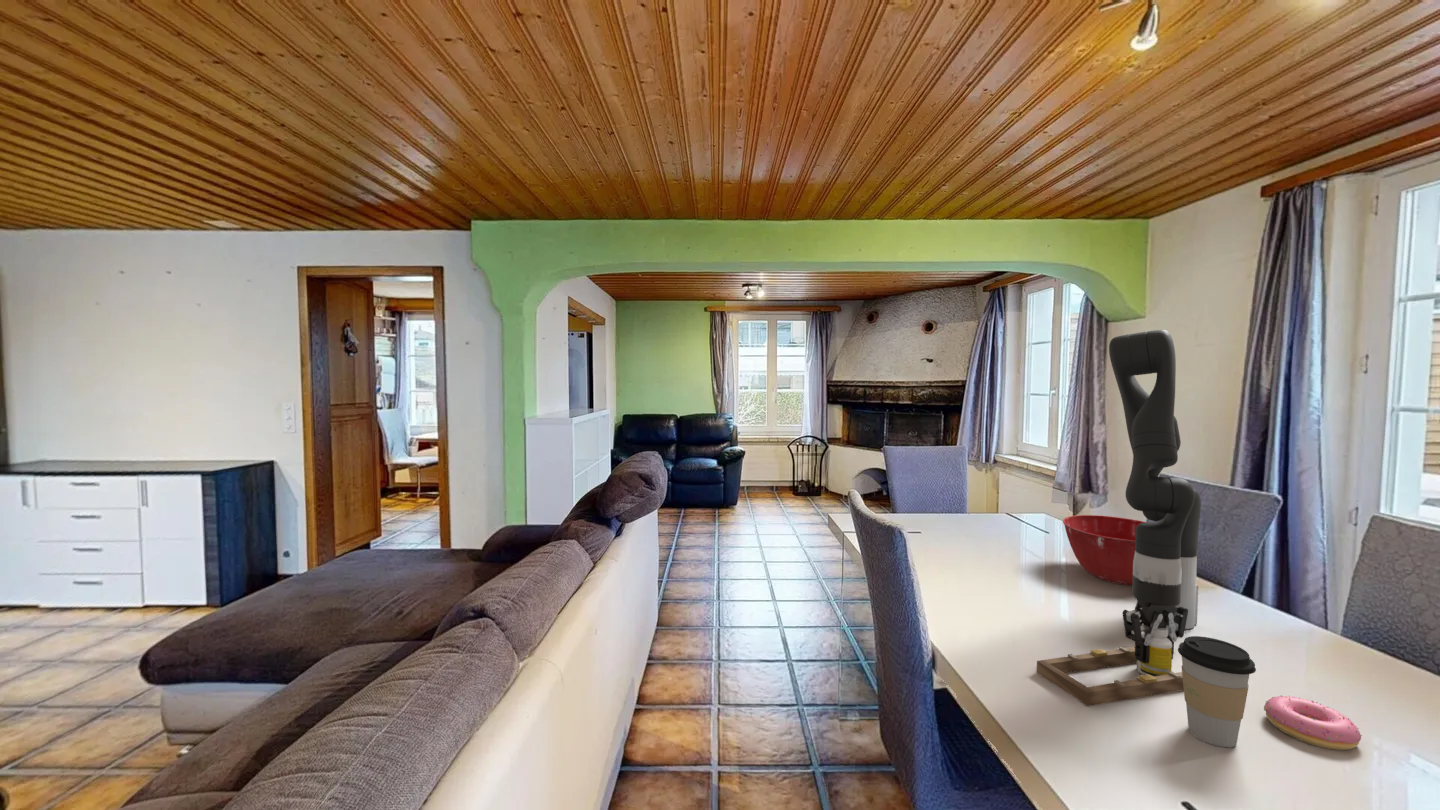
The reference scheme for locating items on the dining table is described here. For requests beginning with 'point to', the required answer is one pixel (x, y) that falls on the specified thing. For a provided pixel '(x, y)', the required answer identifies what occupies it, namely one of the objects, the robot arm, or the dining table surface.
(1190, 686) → the coffee cup
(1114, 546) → the mixing bowl
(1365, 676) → the dining table surface
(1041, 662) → the wooden u-shaped frame
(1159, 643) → the supplement bottle
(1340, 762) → the dining table surface
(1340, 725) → the doughnut
